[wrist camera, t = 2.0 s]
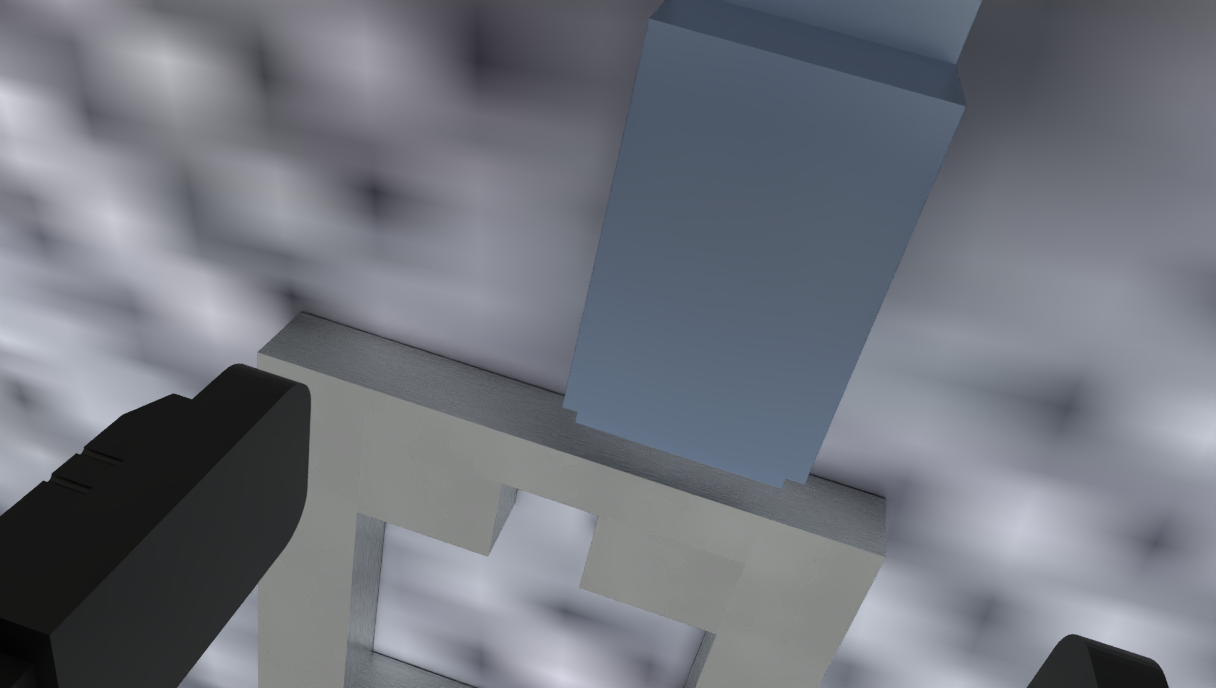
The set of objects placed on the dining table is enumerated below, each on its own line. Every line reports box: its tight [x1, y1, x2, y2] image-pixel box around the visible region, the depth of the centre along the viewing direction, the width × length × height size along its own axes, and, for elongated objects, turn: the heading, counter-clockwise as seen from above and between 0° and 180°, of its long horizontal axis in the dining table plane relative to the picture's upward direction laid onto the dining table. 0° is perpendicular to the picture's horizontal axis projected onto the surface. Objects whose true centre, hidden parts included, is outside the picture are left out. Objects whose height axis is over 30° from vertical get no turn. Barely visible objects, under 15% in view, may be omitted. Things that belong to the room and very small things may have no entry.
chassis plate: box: [257, 312, 886, 688], centre depth 27 cm, size 16×15×2 cm
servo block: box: [562, 0, 982, 489], centre depth 17 cm, size 11×4×5 cm, turn 168°
